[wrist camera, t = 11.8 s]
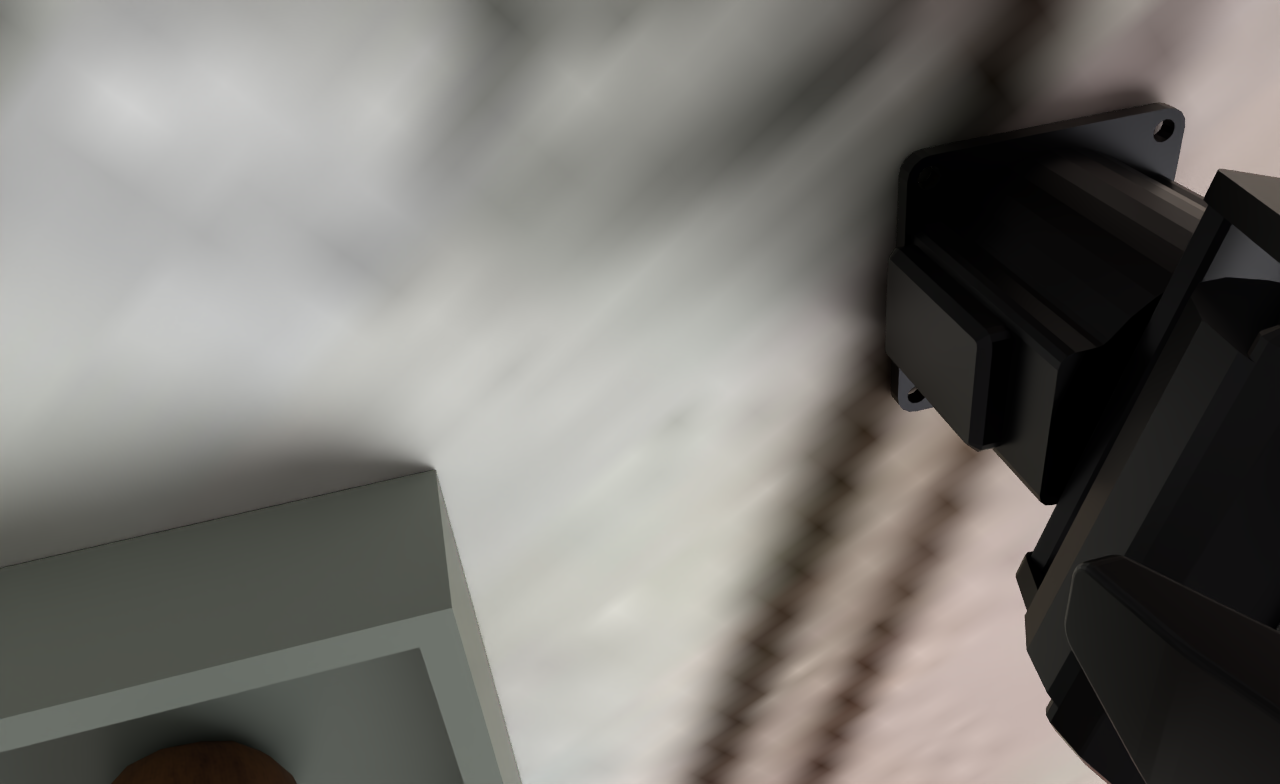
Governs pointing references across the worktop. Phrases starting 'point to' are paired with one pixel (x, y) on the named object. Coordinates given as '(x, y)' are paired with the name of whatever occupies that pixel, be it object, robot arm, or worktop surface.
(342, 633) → the tote
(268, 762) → the wooden figurine
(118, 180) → the worktop surface
